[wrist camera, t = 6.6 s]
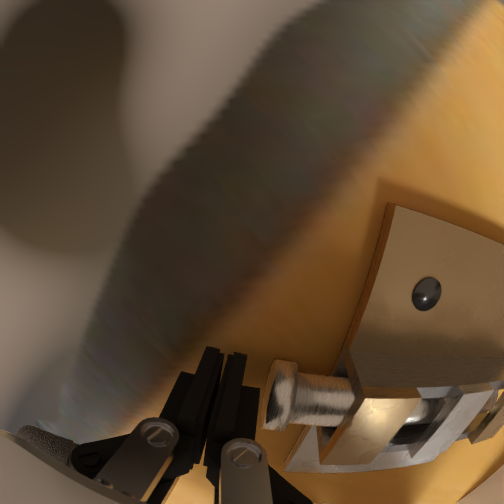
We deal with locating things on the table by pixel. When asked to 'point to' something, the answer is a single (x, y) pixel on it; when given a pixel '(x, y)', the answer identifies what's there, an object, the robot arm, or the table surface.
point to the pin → (325, 400)
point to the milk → (487, 490)
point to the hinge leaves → (416, 350)
